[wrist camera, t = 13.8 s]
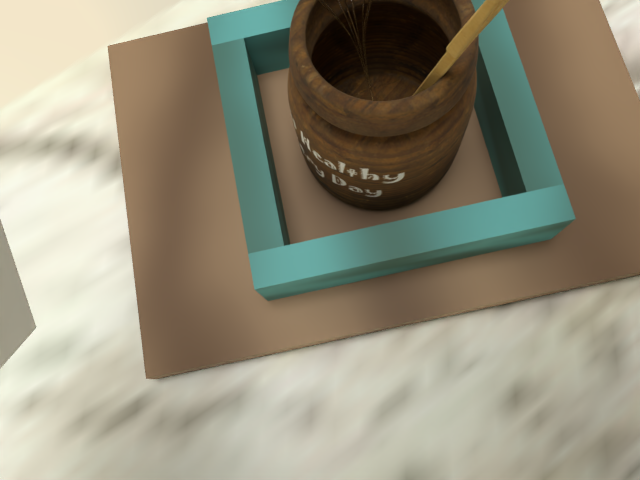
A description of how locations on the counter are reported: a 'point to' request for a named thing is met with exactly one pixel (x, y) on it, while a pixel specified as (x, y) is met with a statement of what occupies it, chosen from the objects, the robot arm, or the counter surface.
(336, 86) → the utensil holder
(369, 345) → the counter surface
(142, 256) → the cradle jig
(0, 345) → the robot arm
